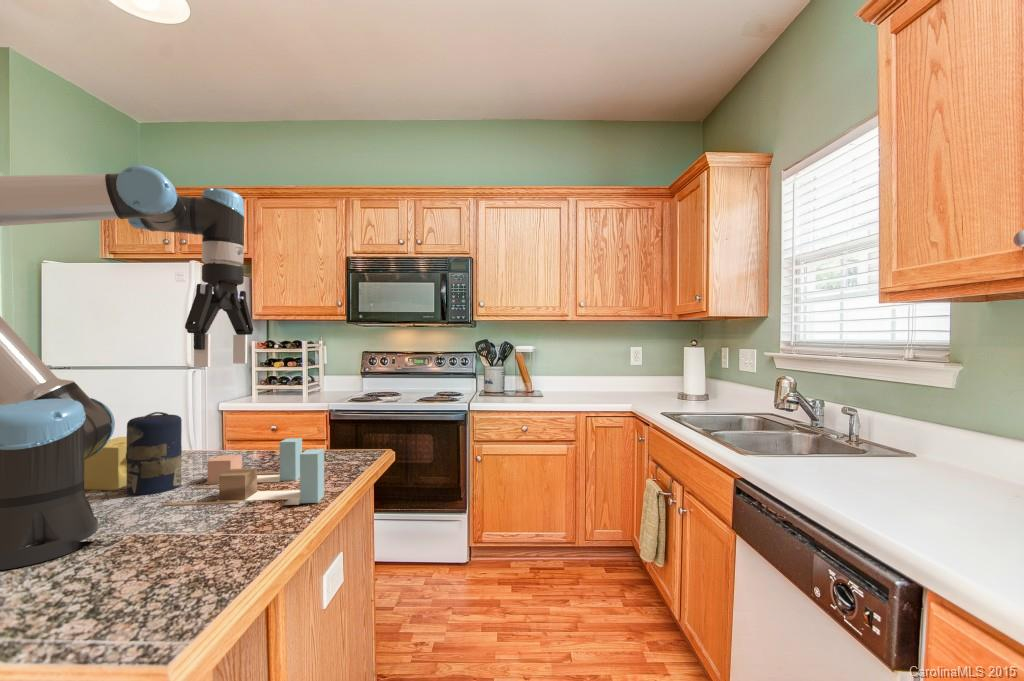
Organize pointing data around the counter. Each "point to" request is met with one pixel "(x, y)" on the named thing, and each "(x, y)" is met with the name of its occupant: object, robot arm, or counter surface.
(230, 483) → the block walnut
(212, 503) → the lane frame
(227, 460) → the block clay
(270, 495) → the multicoloured block
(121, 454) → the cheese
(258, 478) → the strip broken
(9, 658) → the counter surface
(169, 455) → the canister
